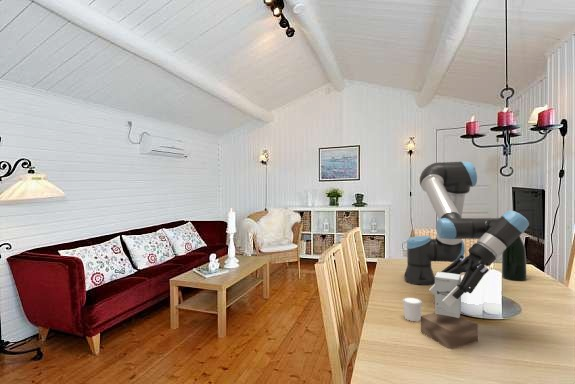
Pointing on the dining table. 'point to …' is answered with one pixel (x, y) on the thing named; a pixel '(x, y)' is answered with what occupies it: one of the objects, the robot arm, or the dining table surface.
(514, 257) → the dark green bottle
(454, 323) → the walnut block
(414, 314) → the white cylinder
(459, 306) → the supplement box
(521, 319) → the dining table surface
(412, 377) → the dining table surface
